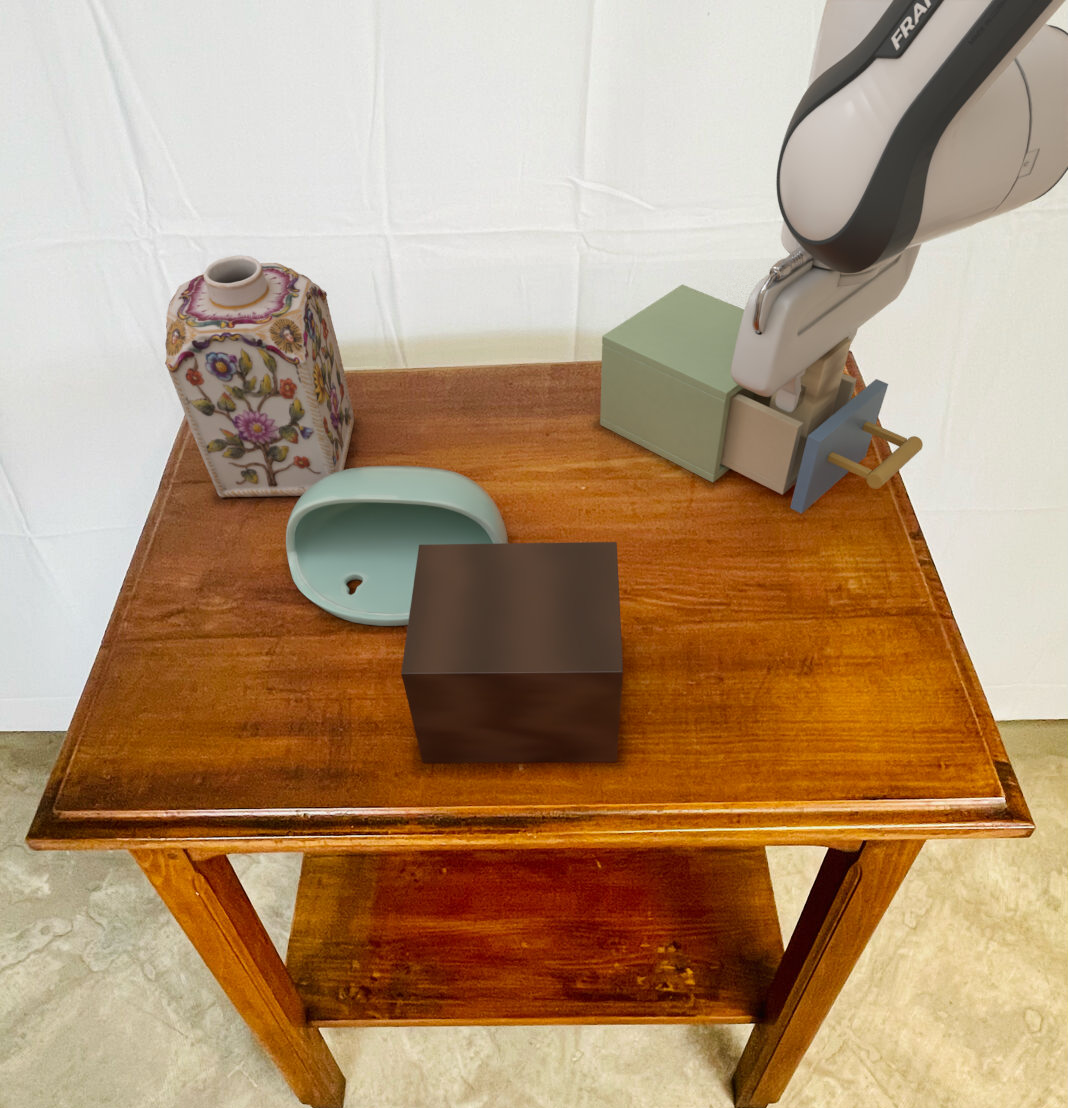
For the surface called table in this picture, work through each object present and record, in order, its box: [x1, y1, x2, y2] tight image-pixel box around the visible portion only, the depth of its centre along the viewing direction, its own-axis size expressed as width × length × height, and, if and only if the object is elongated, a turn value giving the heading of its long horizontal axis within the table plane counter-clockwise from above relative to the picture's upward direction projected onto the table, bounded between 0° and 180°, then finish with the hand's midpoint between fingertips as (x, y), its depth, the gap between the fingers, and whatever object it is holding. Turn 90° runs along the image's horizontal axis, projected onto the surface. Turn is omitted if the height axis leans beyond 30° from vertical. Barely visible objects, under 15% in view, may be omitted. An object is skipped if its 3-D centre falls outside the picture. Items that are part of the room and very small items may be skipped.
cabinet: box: [599, 284, 745, 484], centre depth 83 cm, size 14×12×9 cm
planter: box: [285, 465, 509, 627], centre depth 75 cm, size 19×7×16 cm
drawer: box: [720, 372, 924, 515], centre depth 78 cm, size 18×10×7 cm, turn 47°
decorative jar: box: [164, 254, 355, 499], centre depth 79 cm, size 12×12×18 cm
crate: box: [400, 541, 624, 764], centre depth 64 cm, size 14×12×10 cm
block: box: [769, 338, 853, 438], centre depth 75 cm, size 4×4×7 cm
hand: (806, 391), depth 76 cm, fingers closed on block, 4 cm apart
